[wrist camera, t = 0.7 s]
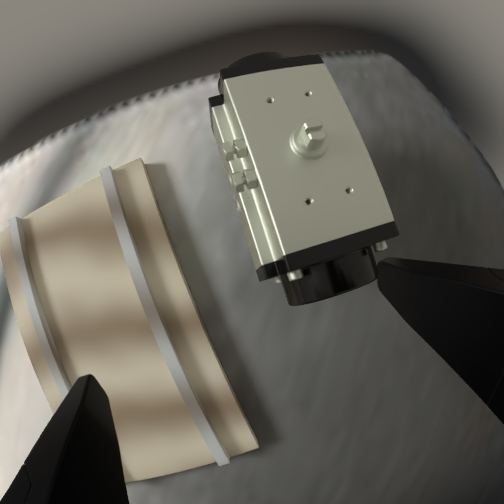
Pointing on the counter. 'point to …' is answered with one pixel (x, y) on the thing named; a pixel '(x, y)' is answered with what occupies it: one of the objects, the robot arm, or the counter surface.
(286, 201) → the pneumatic valve
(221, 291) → the counter surface
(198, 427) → the mounting panel
